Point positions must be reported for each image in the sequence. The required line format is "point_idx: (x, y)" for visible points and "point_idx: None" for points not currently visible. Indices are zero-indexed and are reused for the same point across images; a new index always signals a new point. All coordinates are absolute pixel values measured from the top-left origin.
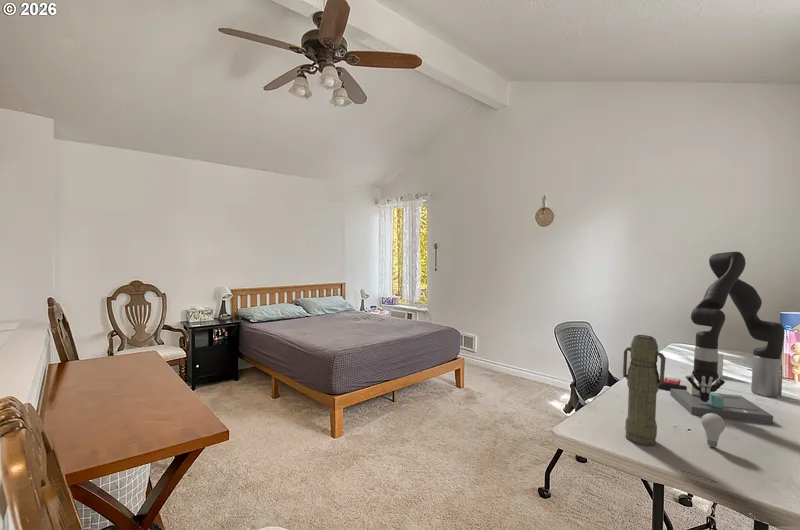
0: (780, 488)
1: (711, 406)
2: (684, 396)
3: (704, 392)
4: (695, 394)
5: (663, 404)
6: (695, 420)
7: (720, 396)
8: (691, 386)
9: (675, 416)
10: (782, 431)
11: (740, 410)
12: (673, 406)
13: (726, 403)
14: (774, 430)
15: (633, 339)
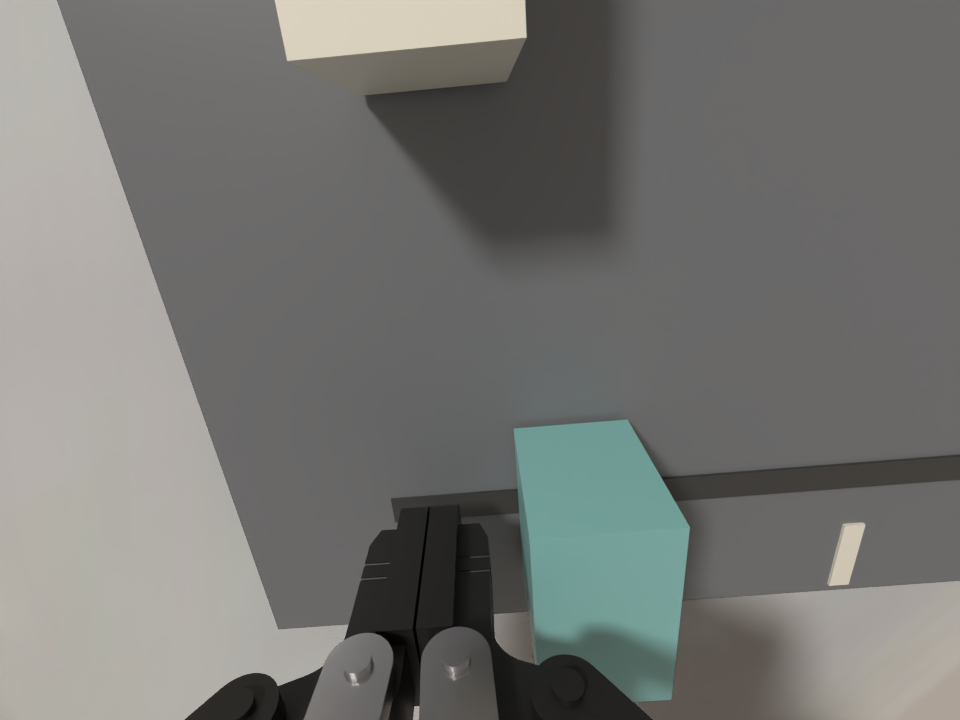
0: None
1: (508, 539)
2: (227, 246)
3: (414, 692)
4: (426, 85)
5: (37, 382)
6: (317, 666)
7: (661, 653)
8: (293, 28)
9: (169, 649)
10: (931, 630)
11: (811, 537)
12: (147, 404)
13: (797, 328)
14: (876, 634)
15: None
